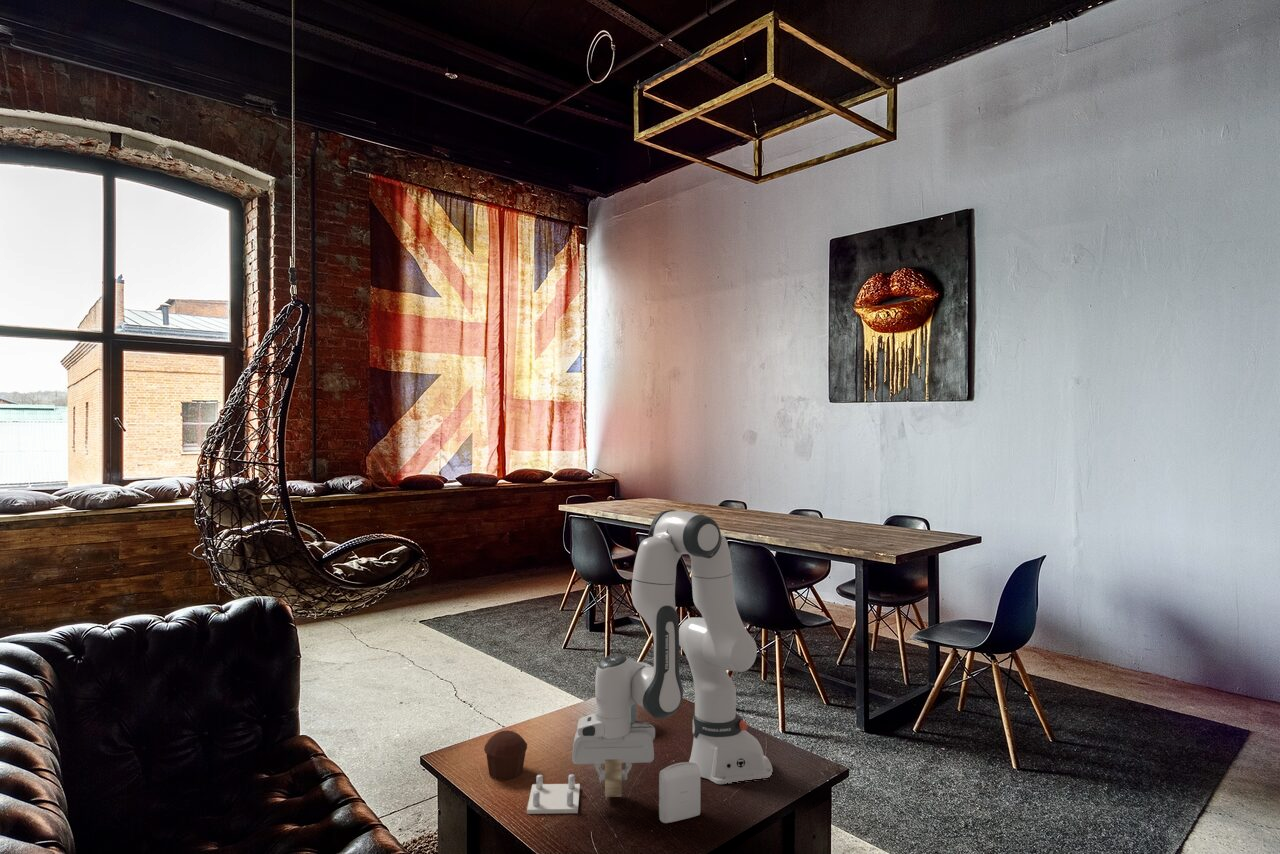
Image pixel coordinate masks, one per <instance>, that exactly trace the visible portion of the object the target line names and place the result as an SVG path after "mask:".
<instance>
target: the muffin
mask: <svg viewBox="0 0 1280 854" xmlns="http://www.w3.org/2000/svg"><path fill="white" fill-rule="evenodd" d="M527 749H528V743H527V742H526V741H525V739H524V738H523V737H522V736H521V735H520V734H519V733H517V732H516V731H513V730H500V731H498V732H496V733H495V734H493V735H492V736H491V737H490V738H489V739H488V740H487V742H486V743H485V745H484V748H483V751H484V752H485V754H486V761H487V767H488V775H490V776H489V777H491V776H493V777H494V778H493V777H492V778H493V779H495V778H496V779H495V780H503V779H504V780H505V781H508V780H510V779H514V778H517V777H519V776H520V775H521V774H523V770H524V763H525V758H526V757H525V756H526V752H527Z"/></svg>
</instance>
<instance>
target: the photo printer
mask: <svg viewBox="0 0 1280 854" xmlns="http://www.w3.org/2000/svg"><path fill="white" fill-rule="evenodd" d="M701 797H702V796H701V777H700V769H699V766H698V765H697V764H696V763H692V762H689V761H683V762H681V761H680V762H677V763H673V764H671V765H668V766H666V767H664V768H663V769H661V770H660V771H659V774H658V817H659V818H658V819H659V820H660V822H661V823H663V824H669V823H674V822H679V821H683V820H686V819H691V818H694V817H697V816H700V815H701Z"/></svg>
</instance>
